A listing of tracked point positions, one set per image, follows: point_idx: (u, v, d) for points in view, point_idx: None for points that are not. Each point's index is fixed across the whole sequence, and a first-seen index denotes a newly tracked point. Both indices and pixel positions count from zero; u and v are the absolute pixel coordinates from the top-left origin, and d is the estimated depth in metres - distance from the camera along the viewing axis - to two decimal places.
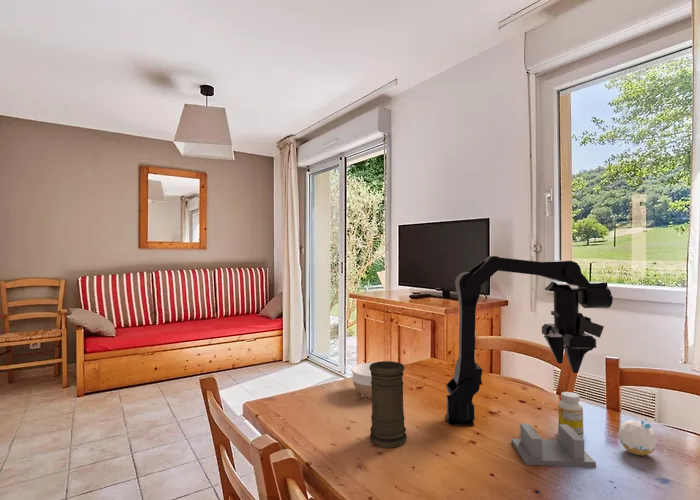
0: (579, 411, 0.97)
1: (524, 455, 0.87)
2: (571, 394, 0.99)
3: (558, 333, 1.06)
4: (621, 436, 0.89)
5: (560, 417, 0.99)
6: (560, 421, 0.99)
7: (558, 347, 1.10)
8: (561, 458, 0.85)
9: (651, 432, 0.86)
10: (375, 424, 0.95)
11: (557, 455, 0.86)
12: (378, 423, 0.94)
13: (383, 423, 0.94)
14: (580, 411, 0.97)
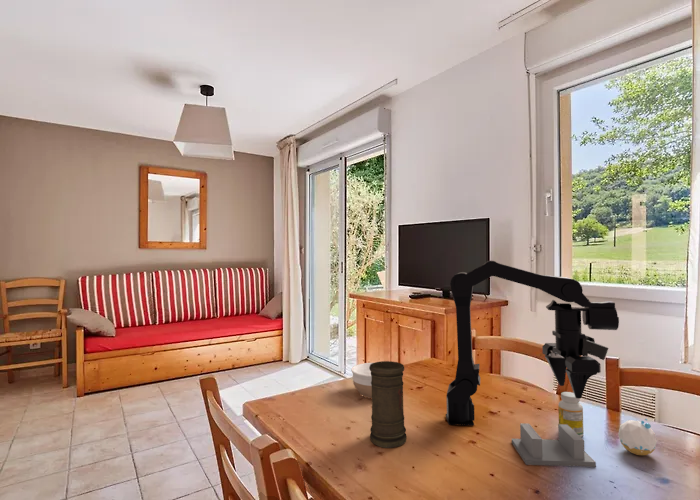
0: (580, 411, 0.97)
1: (524, 455, 0.87)
2: (571, 394, 0.99)
3: (560, 354, 1.01)
4: (621, 436, 0.89)
5: (560, 417, 0.99)
6: (560, 421, 0.99)
7: (560, 368, 1.04)
8: (561, 458, 0.85)
9: (651, 432, 0.86)
10: (375, 424, 0.95)
11: (557, 455, 0.86)
12: (378, 423, 0.94)
13: (383, 423, 0.94)
14: (580, 411, 0.97)
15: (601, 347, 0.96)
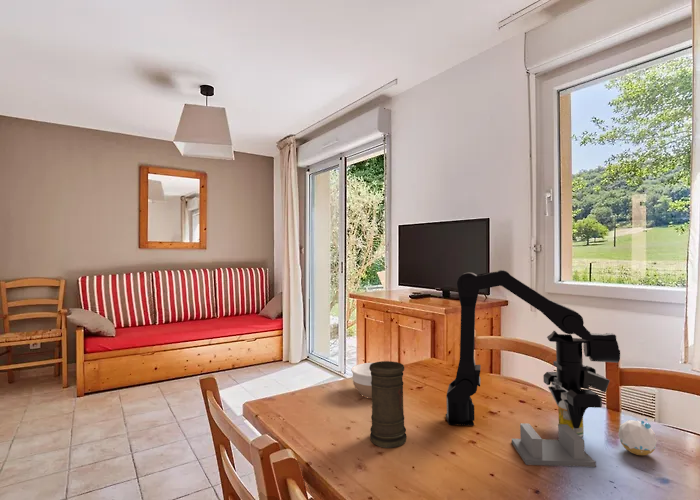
0: None
1: (524, 455, 0.87)
2: None
3: (564, 388, 0.99)
4: (621, 436, 0.89)
5: (560, 417, 0.99)
6: (560, 421, 0.99)
7: None
8: (561, 458, 0.85)
9: (651, 432, 0.86)
10: (375, 424, 0.95)
11: (557, 455, 0.86)
12: (378, 423, 0.94)
13: (383, 423, 0.94)
14: None
15: (602, 379, 0.96)
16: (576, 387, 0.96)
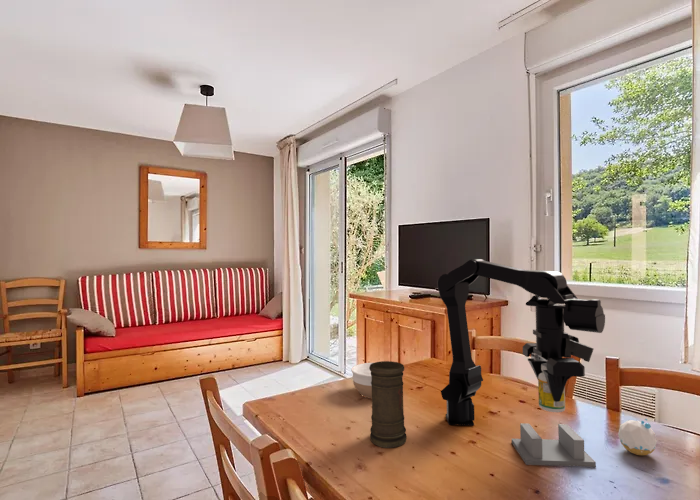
0: None
1: (524, 455, 0.87)
2: None
3: (544, 358, 0.89)
4: (621, 436, 0.89)
5: (540, 390, 0.90)
6: (540, 395, 0.90)
7: None
8: (561, 458, 0.85)
9: (651, 432, 0.86)
10: (375, 424, 0.95)
11: (557, 455, 0.86)
12: (378, 423, 0.94)
13: (383, 423, 0.94)
14: None
15: (586, 348, 0.87)
16: (557, 356, 0.87)
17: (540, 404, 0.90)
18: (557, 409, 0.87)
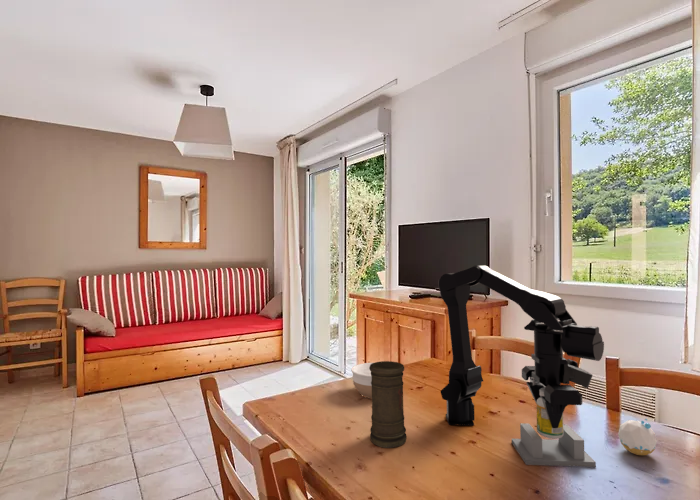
0: None
1: (524, 455, 0.87)
2: None
3: (542, 383, 0.89)
4: (621, 436, 0.89)
5: (538, 416, 0.89)
6: (538, 420, 0.89)
7: None
8: (561, 458, 0.85)
9: (651, 432, 0.86)
10: (375, 424, 0.95)
11: (557, 455, 0.86)
12: (378, 423, 0.94)
13: (383, 423, 0.94)
14: None
15: (584, 374, 0.86)
16: (555, 382, 0.86)
17: (538, 430, 0.89)
18: (555, 435, 0.87)
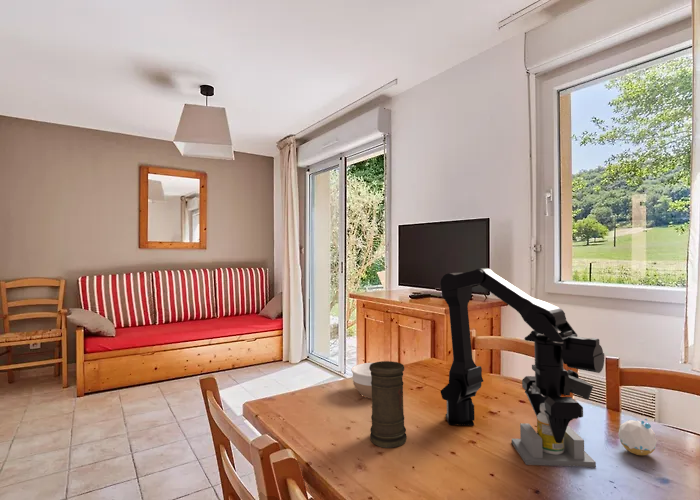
0: None
1: (524, 455, 0.87)
2: None
3: None
4: (621, 436, 0.89)
5: (538, 431, 0.89)
6: None
7: None
8: (561, 458, 0.85)
9: (651, 432, 0.86)
10: (375, 424, 0.95)
11: (557, 455, 0.86)
12: (378, 423, 0.94)
13: (383, 423, 0.94)
14: None
15: (585, 385, 0.86)
16: (556, 394, 0.86)
17: None
18: (556, 451, 0.86)
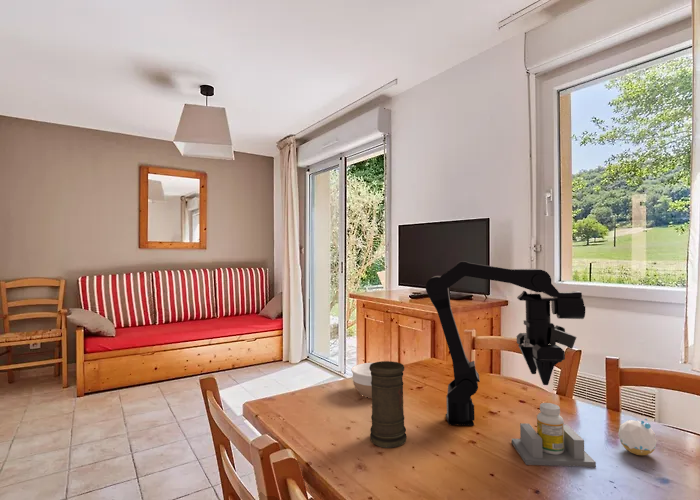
0: (560, 425, 0.87)
1: (524, 455, 0.87)
2: (551, 405, 0.89)
3: (530, 343, 1.04)
4: (621, 436, 0.89)
5: (538, 431, 0.89)
6: None
7: (532, 357, 1.07)
8: (561, 458, 0.85)
9: (651, 432, 0.86)
10: (375, 424, 0.95)
11: (557, 455, 0.86)
12: (378, 423, 0.94)
13: (383, 423, 0.94)
14: (561, 424, 0.87)
15: (569, 336, 0.99)
16: (543, 343, 1.00)
17: None
18: (556, 451, 0.86)
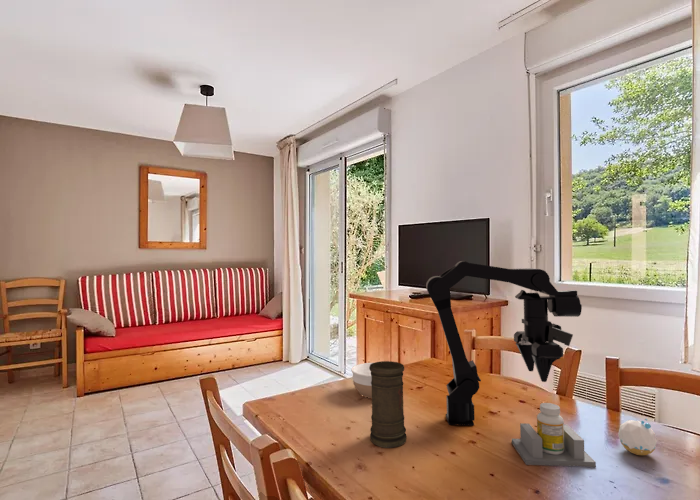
0: (560, 425, 0.87)
1: (524, 455, 0.87)
2: (551, 405, 0.89)
3: (528, 341, 1.06)
4: (621, 436, 0.89)
5: (539, 431, 0.89)
6: None
7: (529, 355, 1.10)
8: (561, 458, 0.85)
9: (651, 432, 0.86)
10: (375, 424, 0.95)
11: (557, 455, 0.86)
12: (378, 423, 0.94)
13: (383, 423, 0.94)
14: (561, 424, 0.87)
15: (566, 334, 1.02)
16: (541, 341, 1.02)
17: None
18: (556, 451, 0.86)
